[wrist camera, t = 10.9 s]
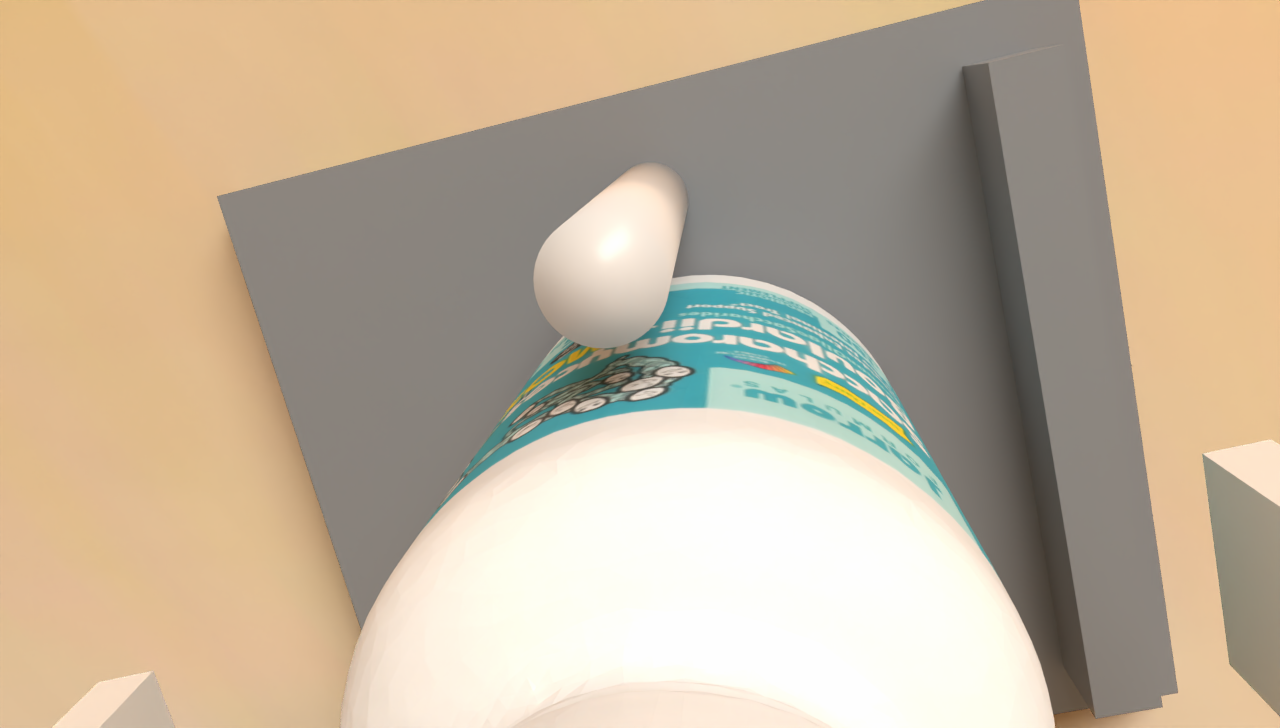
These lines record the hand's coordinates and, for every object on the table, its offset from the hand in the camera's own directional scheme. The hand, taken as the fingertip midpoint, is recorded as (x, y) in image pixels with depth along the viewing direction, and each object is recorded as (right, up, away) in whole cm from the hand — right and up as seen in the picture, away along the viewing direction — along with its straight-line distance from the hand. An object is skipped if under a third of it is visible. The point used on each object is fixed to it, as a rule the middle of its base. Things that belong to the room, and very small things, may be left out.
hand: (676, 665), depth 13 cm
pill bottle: (+1, +2, +8) cm, 8 cm away
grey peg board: (+1, +2, +9) cm, 9 cm away
